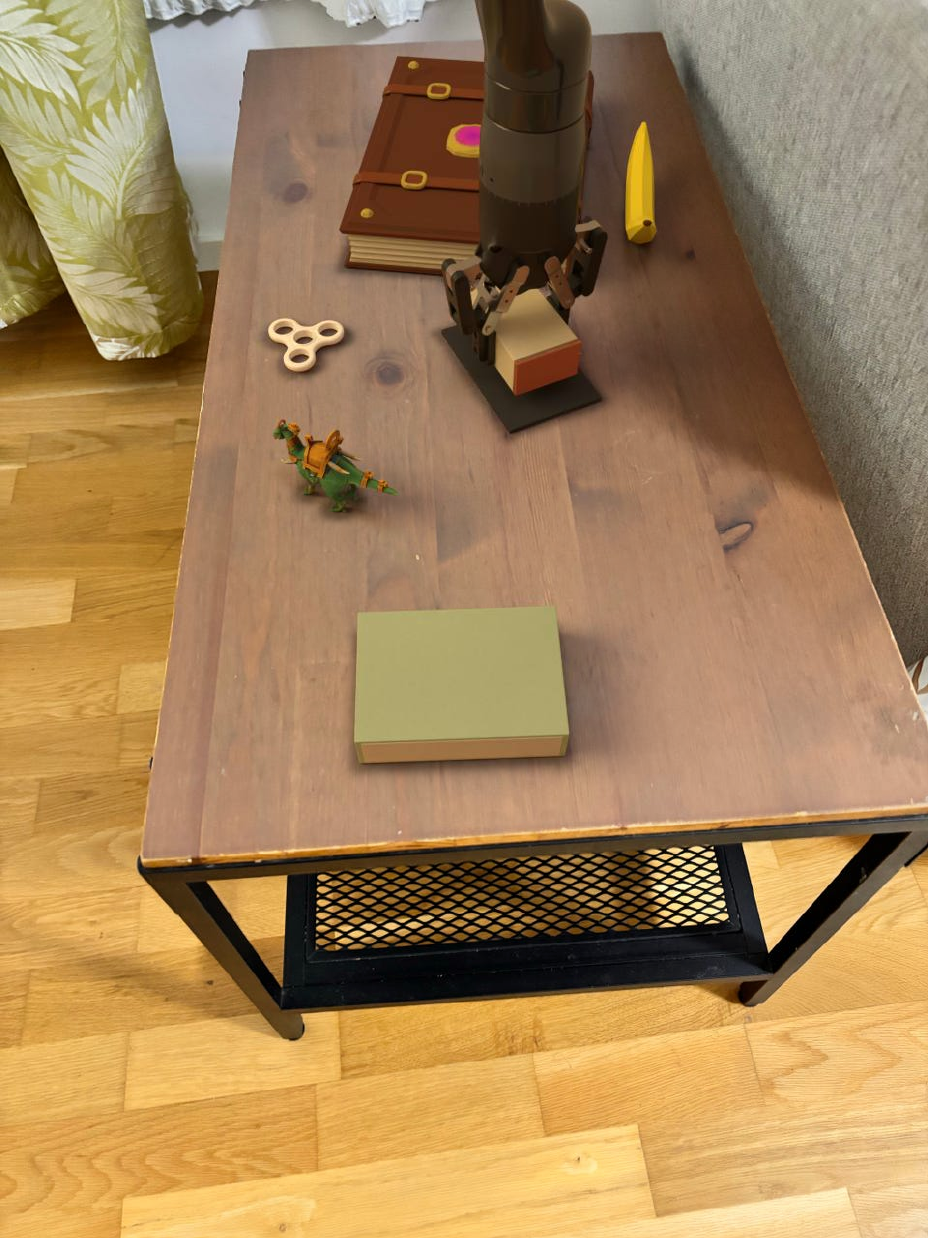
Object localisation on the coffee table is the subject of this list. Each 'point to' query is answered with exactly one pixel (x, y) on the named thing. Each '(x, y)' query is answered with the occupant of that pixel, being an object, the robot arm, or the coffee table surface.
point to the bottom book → (459, 685)
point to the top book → (533, 343)
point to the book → (425, 170)
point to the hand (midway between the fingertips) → (520, 347)
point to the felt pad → (526, 405)
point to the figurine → (327, 465)
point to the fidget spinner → (303, 331)
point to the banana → (640, 190)
